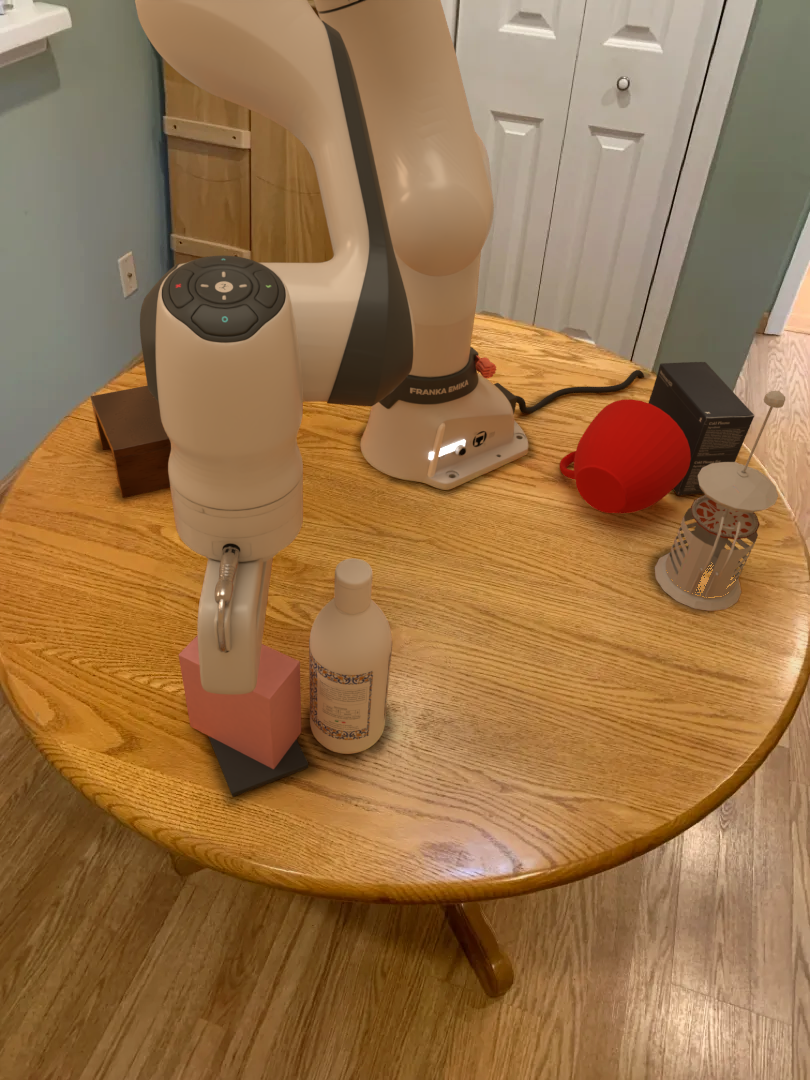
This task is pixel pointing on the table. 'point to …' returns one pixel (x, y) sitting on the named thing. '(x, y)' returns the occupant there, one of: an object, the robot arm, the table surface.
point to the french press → (718, 530)
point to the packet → (248, 706)
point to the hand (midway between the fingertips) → (248, 634)
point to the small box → (701, 416)
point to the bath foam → (349, 664)
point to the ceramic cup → (628, 457)
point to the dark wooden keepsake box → (134, 439)
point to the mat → (255, 767)
